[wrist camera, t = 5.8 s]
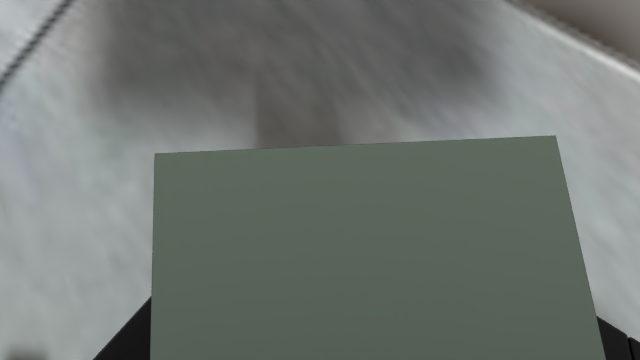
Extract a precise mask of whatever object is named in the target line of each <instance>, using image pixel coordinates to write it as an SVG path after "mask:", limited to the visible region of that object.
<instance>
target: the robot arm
mask: <svg viewBox="0 0 640 360" xmlns="http://www.w3.org/2000/svg"><path fill="white" fill-rule="evenodd" d="M151 297H152V296H151ZM151 297H150V298H149V299H148V300H147V301H146V302H145V303H144V305H143V306H142V307H141V308H140V309H139V310H138V311H137V312H136V313H135V314H134V315H133V317H132V318H131V319H130V320H129V321H128V322H127V323H126V324H125V325H124V326H123V327H122V328H121V330H120V331H119V332H118V333H117V334H116V335H115V336H114V337H113V338H112V339H111V340H110V342H109V343H108V344H107V345H106V346H105V347H104V348H103V349H102V350H101V351H100V352H99V353H98V355H97V356H96V357H95V358H94V359H93V360H150V343H151ZM596 318H597V322H598V326H599V331H600V335H601V340H602V344H603V349H604V353H605V358H606V360H640V342H638V341H637V340H635V339H633V338H632V337H629V338H628V337H627V335H626V334H625V333H624V332H622V331H620V330H619V329H617V328H615V327H614V326H612V325H611V324H609V323H607V322H606V321H604V320H602V319H601V318H599V317H598V316H596Z"/></svg>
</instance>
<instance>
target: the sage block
mask: <svg viewBox="0 0 640 360" xmlns="http://www.w3.org/2000/svg"><path fill="white" fill-rule="evenodd" d="M150 360H606V358H605V353H604V349H603V344H602V340H601V335H600V331H599V326H598V322H597V318H596V313H595V309H594V304H593V300H592V295H591V291H590V286H589V282H588V277H587V273H586V269H585V264H584V260H583V255H582V251H581V246H580V242H579V237H578V233H577V228H576V224H575V219H574V215H573V211H572V206H571V202H570V197H569V193H568V188H567V184H566V179H565V175H564V170H563V166H562V162H561V157H560V153H559V148H558V144H557V139H556V136H534V137H512V138H490V139H467V140H445V141H423V142H401V143H378V144H356V145H334V146H312V147H289V148H267V149H245V150H223V151H200V152H178V153H156V154H155V160H154V206H153V252H152V297H151V343H150Z"/></svg>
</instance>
